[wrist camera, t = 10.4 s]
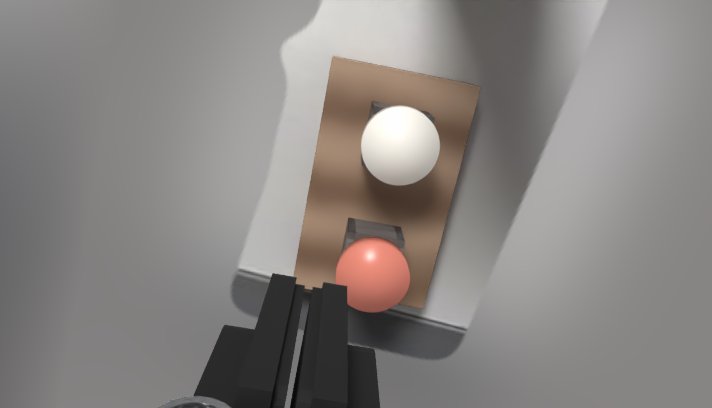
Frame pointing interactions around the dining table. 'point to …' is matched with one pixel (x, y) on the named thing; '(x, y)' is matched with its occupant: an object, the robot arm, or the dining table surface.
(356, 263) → the red button
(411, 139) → the cream button
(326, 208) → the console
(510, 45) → the dining table surface
